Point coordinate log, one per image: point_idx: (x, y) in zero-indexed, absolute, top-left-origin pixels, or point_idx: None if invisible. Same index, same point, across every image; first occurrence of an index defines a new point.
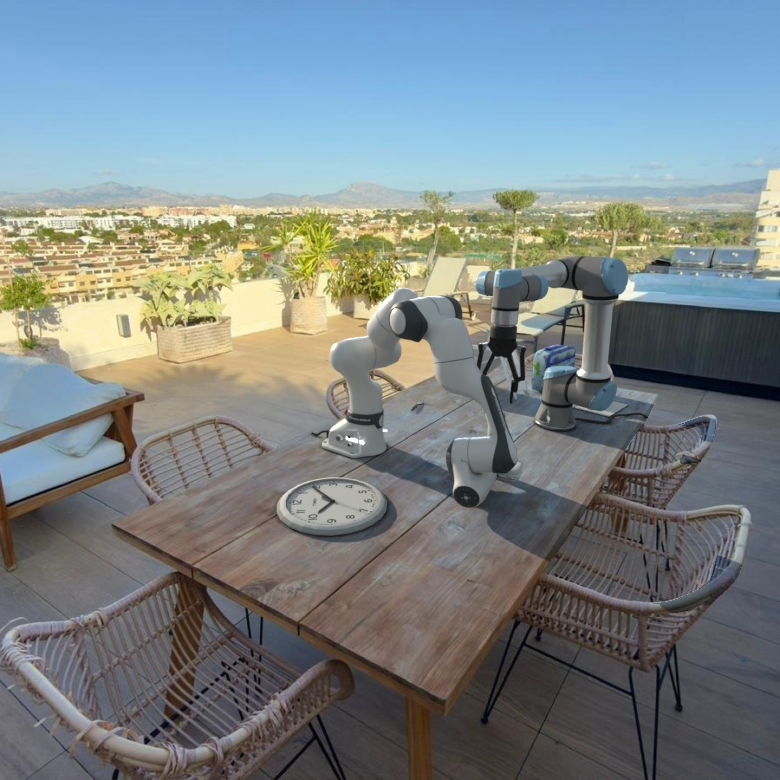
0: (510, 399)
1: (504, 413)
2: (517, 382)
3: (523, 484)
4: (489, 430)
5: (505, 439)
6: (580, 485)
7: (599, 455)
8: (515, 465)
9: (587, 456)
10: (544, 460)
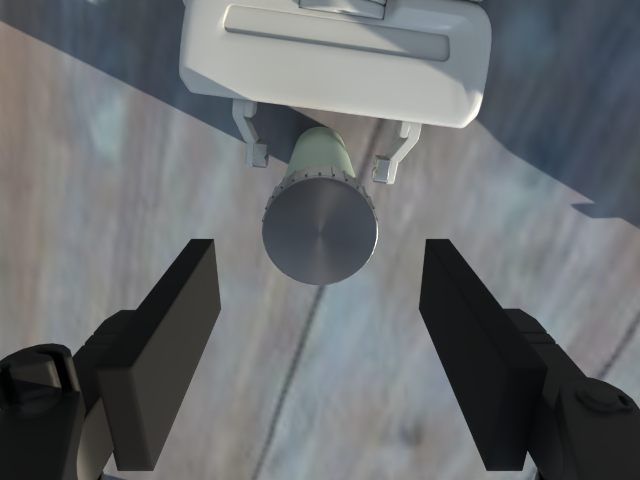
0: (196, 254)
1: (269, 249)
2: (17, 352)
3: (202, 104)
4: (349, 172)
5: None
6: (25, 162)
7: None
8: (204, 33)
9: None
10: None
